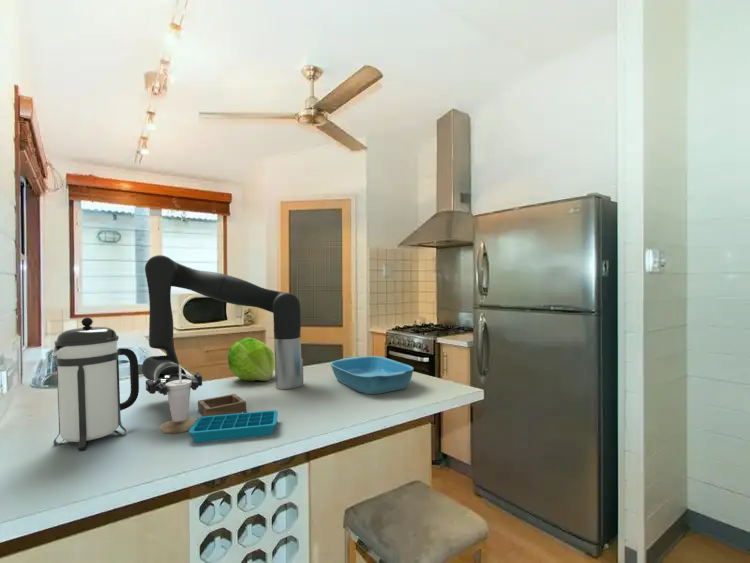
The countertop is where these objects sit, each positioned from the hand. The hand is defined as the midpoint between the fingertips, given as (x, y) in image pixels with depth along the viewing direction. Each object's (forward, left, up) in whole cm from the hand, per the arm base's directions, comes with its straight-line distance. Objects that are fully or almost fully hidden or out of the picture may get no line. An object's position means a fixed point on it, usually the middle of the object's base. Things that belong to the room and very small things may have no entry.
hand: (180, 388), depth 105 cm
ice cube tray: (-12, +8, -11) cm, 19 cm away
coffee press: (+19, -5, -11) cm, 23 cm away
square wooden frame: (-11, -10, -11) cm, 18 cm away
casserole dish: (-61, -16, -11) cm, 64 cm away
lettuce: (-25, -45, -11) cm, 53 cm away
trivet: (0, -2, -11) cm, 11 cm away
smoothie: (0, -2, -9) cm, 9 cm away
